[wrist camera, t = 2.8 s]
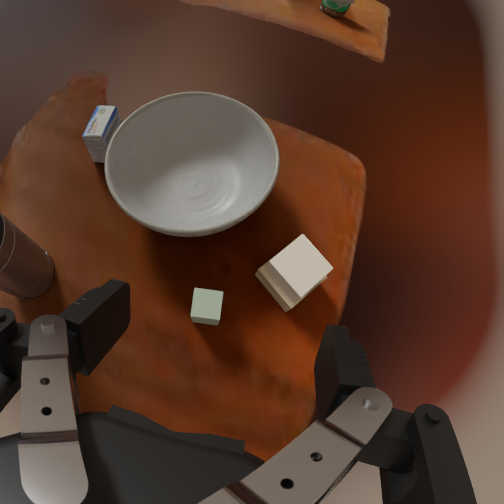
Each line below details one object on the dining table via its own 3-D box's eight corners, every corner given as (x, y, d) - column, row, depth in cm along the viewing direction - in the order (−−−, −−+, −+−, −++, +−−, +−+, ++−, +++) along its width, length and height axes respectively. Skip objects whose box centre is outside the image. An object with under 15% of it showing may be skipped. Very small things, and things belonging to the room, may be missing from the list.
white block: (293, 302, 49) (301, 297, 45) (264, 268, 50) (269, 260, 46) (324, 275, 51) (333, 268, 47) (295, 242, 52) (302, 233, 48)
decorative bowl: (244, 280, 53) (255, 257, 41) (98, 235, 51) (74, 204, 40) (279, 154, 62) (293, 113, 51) (154, 122, 61) (149, 80, 49)
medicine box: (112, 164, 56) (102, 136, 48) (93, 162, 56) (80, 136, 48) (124, 133, 59) (117, 105, 51) (105, 132, 59) (96, 104, 50)
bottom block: (285, 312, 52) (291, 308, 48) (254, 275, 53) (258, 268, 50) (319, 283, 55) (327, 277, 51) (289, 248, 56) (295, 240, 52)
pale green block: (217, 325, 50) (219, 319, 43) (192, 322, 49) (190, 316, 42) (220, 301, 51) (223, 291, 44) (196, 297, 51) (194, 287, 43)
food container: (314, 12, 87) (321, -10, 78) (316, 6, 89) (323, -14, 80) (346, 23, 87) (355, 2, 78) (347, 17, 89) (356, -3, 80)
